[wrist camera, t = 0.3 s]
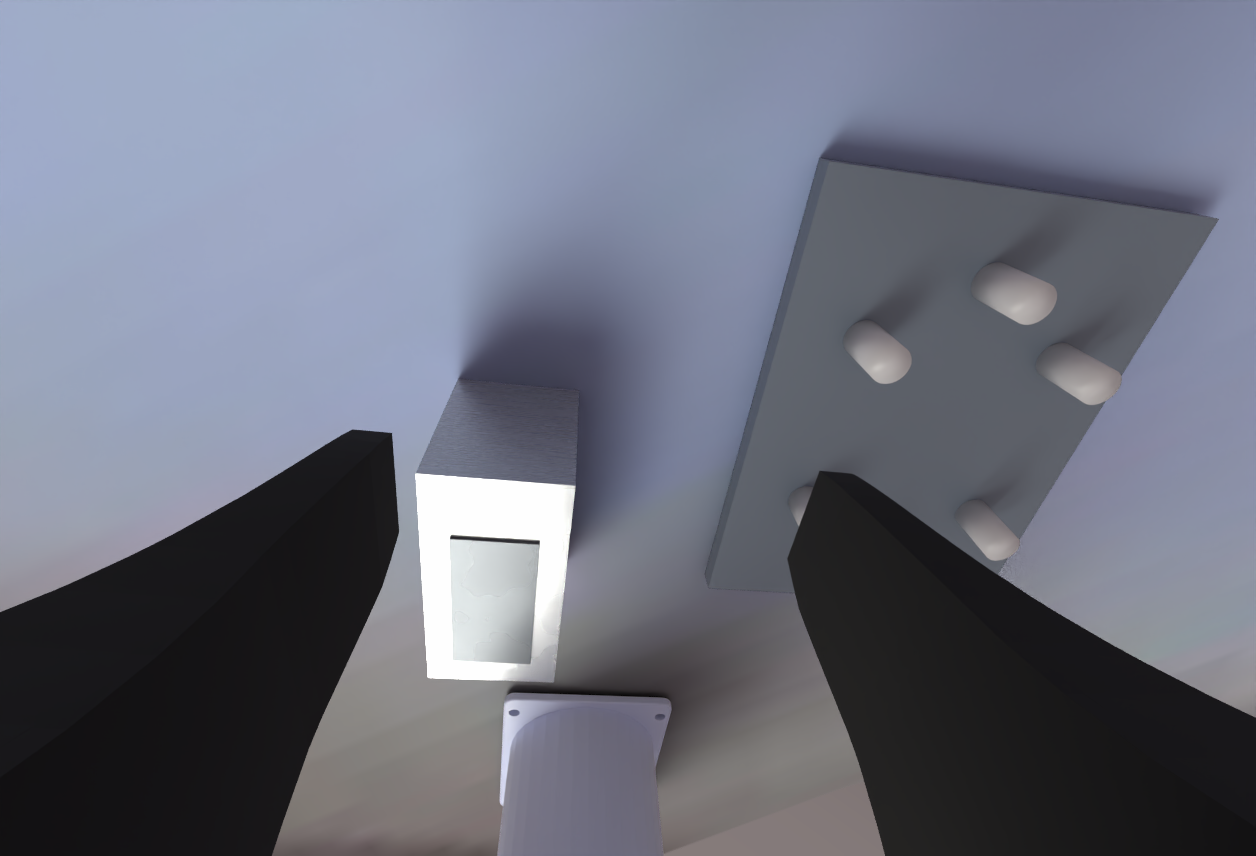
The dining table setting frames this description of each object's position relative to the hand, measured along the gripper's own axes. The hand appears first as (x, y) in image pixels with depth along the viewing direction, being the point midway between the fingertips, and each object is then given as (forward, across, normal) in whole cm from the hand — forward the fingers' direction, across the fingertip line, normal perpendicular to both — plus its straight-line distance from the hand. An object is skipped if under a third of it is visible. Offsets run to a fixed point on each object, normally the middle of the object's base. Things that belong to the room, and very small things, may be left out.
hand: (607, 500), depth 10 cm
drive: (+10, +2, +7) cm, 12 cm away
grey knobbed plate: (+10, -12, +3) cm, 15 cm away
